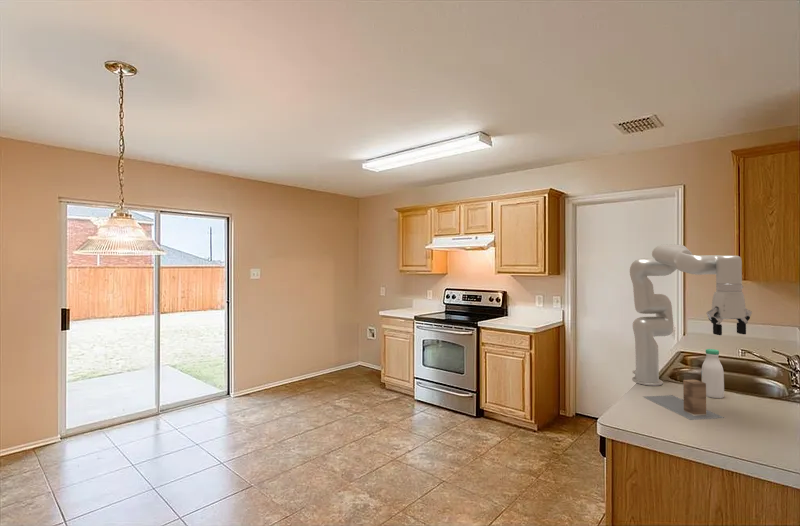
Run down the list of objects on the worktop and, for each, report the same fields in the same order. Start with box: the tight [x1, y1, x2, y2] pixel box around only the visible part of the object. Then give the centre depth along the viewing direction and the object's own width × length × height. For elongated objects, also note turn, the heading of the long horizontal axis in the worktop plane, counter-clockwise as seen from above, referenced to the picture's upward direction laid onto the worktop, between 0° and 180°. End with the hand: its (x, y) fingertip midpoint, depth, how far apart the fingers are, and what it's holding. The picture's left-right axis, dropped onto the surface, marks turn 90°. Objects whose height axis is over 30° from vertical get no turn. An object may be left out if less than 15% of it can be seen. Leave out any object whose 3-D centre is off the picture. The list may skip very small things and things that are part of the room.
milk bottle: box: [701, 348, 725, 399], centre depth 177 cm, size 8×8×20 cm
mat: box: [643, 394, 726, 421], centre depth 163 cm, size 26×14×1 cm, turn 5°
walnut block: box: [682, 379, 707, 416], centre depth 156 cm, size 5×5×12 cm
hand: (729, 334), depth 152 cm, fingers open, 9 cm apart
